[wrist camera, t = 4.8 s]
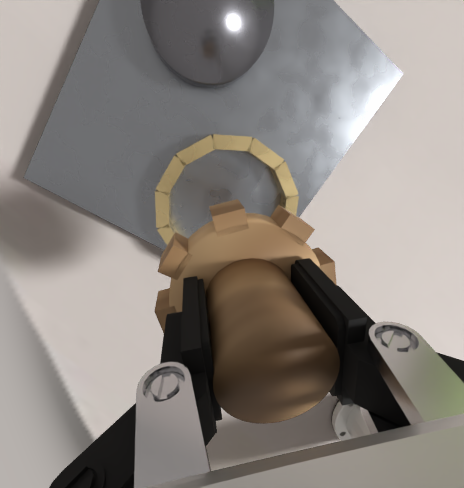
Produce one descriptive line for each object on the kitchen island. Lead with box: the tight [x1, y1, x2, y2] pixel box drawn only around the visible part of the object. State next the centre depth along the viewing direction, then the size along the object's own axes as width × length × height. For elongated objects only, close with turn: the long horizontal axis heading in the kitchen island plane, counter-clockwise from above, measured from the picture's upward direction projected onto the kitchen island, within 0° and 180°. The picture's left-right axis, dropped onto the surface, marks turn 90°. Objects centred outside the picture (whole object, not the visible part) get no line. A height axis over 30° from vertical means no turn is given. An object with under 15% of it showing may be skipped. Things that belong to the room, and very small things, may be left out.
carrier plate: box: [24, 0, 404, 250], centre depth 20 cm, size 20×22×4 cm
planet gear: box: [155, 199, 340, 423], centre depth 10 cm, size 8×8×6 cm
